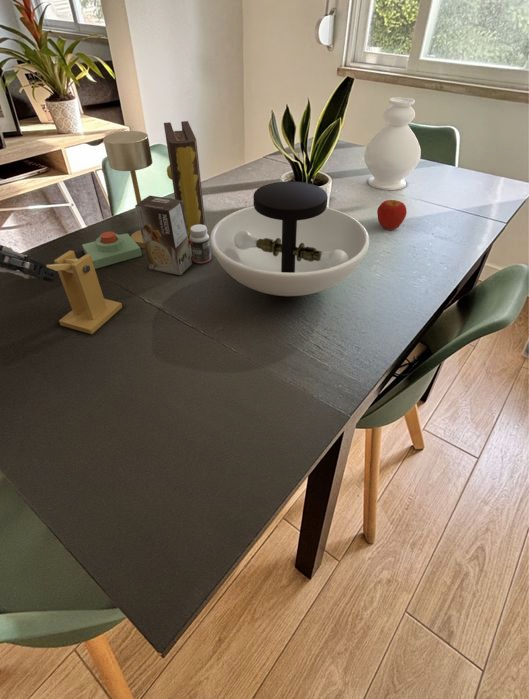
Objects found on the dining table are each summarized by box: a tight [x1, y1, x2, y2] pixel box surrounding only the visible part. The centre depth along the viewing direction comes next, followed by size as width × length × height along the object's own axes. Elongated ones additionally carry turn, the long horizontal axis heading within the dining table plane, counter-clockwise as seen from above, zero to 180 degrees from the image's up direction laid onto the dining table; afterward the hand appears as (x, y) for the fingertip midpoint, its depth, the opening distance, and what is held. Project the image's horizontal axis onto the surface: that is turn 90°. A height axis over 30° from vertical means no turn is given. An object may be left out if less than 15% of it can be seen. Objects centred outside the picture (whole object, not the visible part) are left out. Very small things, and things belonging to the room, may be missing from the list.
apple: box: [376, 199, 407, 231], centre depth 117 cm, size 8×8×8 cm
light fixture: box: [209, 181, 370, 297], centre depth 91 cm, size 33×33×21 cm
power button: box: [99, 231, 117, 244], centre depth 107 cm, size 4×4×2 cm
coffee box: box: [134, 195, 193, 276], centre depth 99 cm, size 9×6×16 cm
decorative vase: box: [363, 96, 422, 191], centre depth 137 cm, size 18×18×25 cm
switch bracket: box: [53, 250, 123, 335], centre depth 85 cm, size 10×8×14 cm
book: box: [163, 120, 206, 245], centre depth 114 cm, size 22×8×25 cm, turn 14°
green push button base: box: [81, 232, 143, 270], centre depth 108 cm, size 12×10×4 cm
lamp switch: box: [22, 257, 79, 281], centre depth 77 cm, size 13×4×4 cm, turn 157°
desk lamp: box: [102, 130, 153, 249], centre depth 106 cm, size 10×10×26 cm
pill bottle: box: [189, 224, 212, 264], centre depth 105 cm, size 5×5×8 cm
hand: (43, 273), depth 75 cm, fingers closed on lamp switch, 3 cm apart
